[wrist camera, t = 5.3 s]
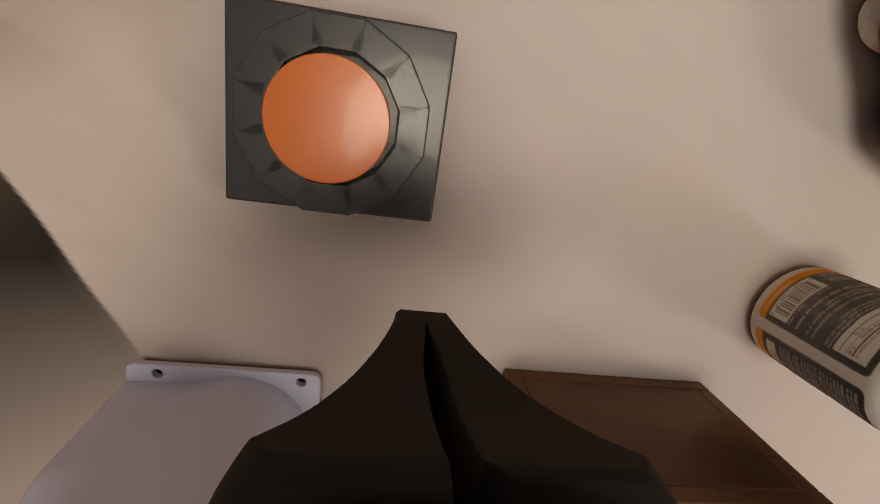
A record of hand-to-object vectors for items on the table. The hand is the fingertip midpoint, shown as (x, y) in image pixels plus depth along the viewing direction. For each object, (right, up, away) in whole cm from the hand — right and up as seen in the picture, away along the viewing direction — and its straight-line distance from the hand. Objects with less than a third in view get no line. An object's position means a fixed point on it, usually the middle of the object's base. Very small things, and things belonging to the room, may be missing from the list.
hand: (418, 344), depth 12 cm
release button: (-4, +8, +5) cm, 10 cm away
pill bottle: (+21, -1, +14) cm, 25 cm away
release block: (-4, +8, +8) cm, 12 cm away
